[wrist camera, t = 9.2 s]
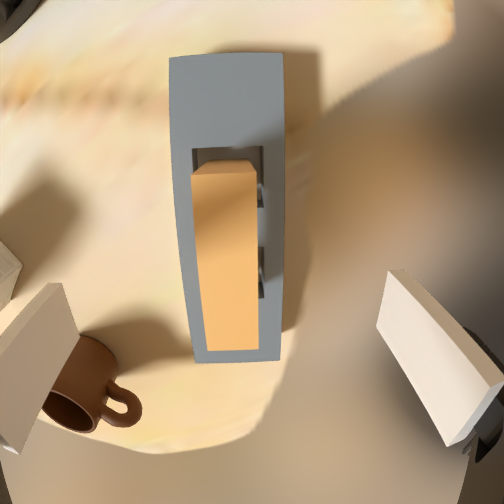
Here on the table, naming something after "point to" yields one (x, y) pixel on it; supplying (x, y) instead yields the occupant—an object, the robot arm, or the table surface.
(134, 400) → the mug
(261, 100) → the rail
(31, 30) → the table surface
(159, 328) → the table surface
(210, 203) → the tall wooden block
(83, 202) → the table surface
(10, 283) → the supplement box
